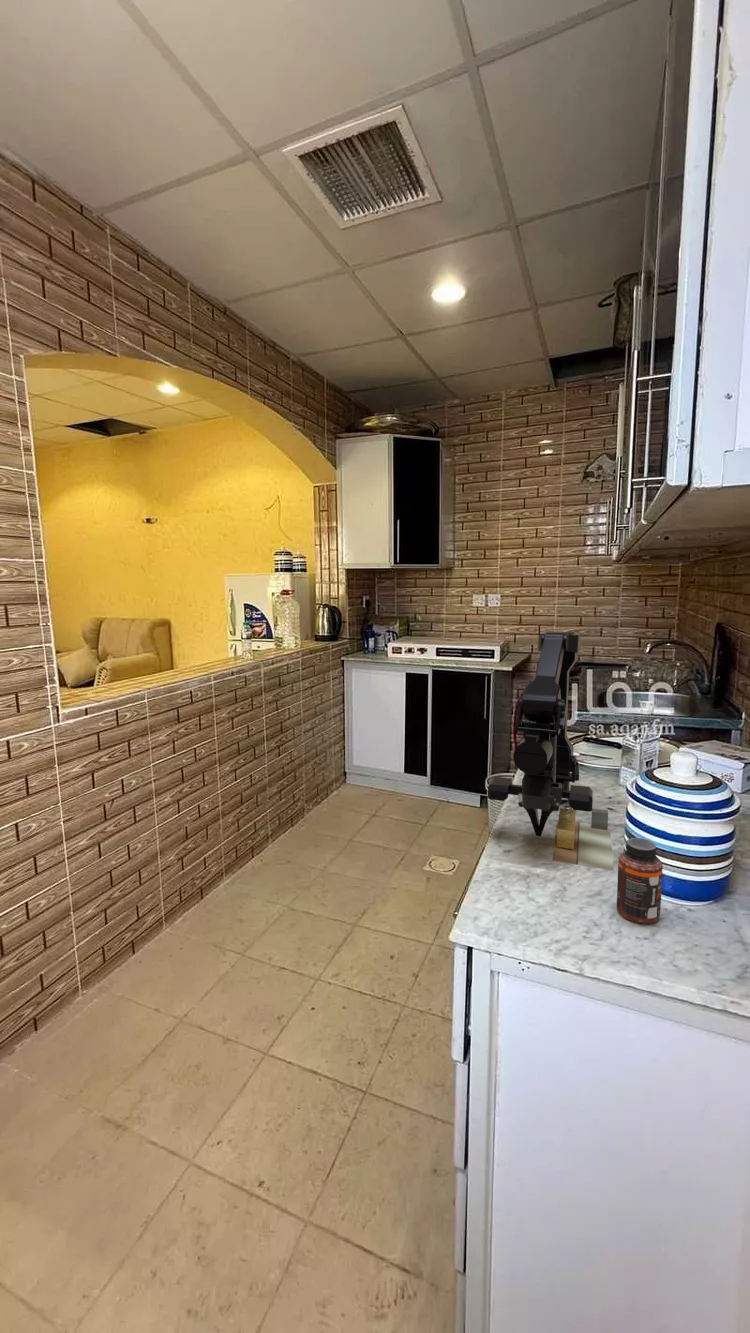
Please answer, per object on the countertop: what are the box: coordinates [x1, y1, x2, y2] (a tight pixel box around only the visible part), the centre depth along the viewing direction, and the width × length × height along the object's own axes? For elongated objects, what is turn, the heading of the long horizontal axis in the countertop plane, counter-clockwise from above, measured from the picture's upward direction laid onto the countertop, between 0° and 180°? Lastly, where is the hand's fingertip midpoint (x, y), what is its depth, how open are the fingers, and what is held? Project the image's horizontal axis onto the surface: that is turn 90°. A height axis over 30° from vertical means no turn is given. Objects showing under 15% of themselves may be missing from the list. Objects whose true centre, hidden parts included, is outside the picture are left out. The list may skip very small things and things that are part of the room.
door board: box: [552, 821, 614, 871], centre depth 100 cm, size 18×10×1 cm, turn 158°
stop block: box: [590, 808, 609, 830], centre depth 106 cm, size 2×3×4 cm, turn 68°
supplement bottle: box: [616, 837, 663, 924], centre depth 79 cm, size 6×6×11 cm
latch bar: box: [556, 805, 577, 849], centre depth 102 cm, size 10×3×4 cm, turn 158°
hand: (538, 835), depth 101 cm, fingers closed
